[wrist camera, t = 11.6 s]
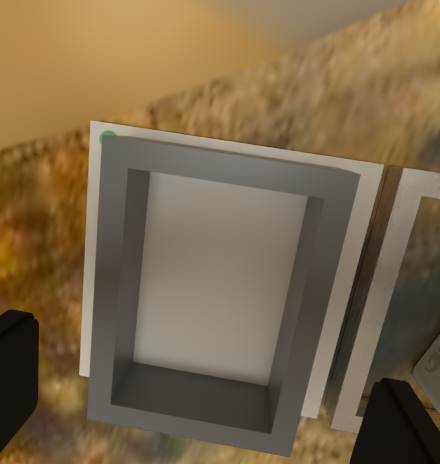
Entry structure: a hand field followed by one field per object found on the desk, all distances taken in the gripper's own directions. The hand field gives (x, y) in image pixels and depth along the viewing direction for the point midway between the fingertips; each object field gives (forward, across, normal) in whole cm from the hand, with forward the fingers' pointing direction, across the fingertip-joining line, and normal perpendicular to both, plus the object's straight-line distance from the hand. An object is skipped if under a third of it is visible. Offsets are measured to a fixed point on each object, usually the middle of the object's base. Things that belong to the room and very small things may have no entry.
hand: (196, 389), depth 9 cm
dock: (+8, 0, 0) cm, 8 cm away
